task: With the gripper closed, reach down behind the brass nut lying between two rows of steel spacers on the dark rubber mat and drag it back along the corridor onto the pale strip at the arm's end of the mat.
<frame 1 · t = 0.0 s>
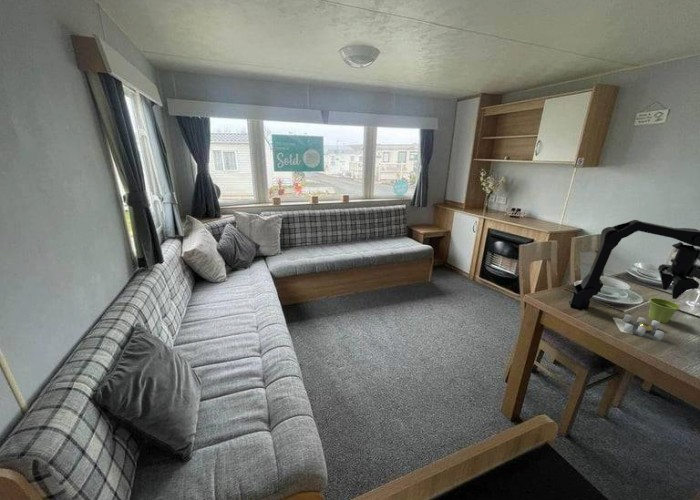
hand: (669, 294, 123), 15 cm above the table, fingers open, 9 cm apart
plant pot: (657, 320, 131), on the table
brass nut: (643, 330, 122), point 1 cm above the table, touching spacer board
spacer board: (636, 329, 123), on the table
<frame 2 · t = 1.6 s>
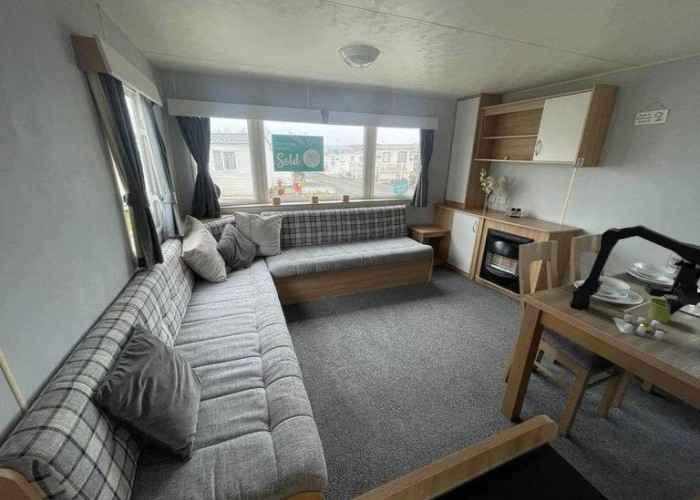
hand: (670, 313, 116), 10 cm above the table, fingers closed
nothing on the table moved.
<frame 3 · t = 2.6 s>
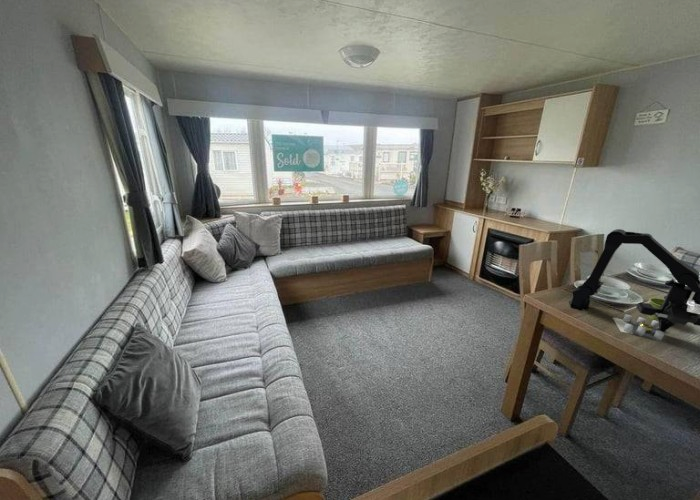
hand: (661, 331, 119), 2 cm above the table, fingers closed
nothing on the table moved.
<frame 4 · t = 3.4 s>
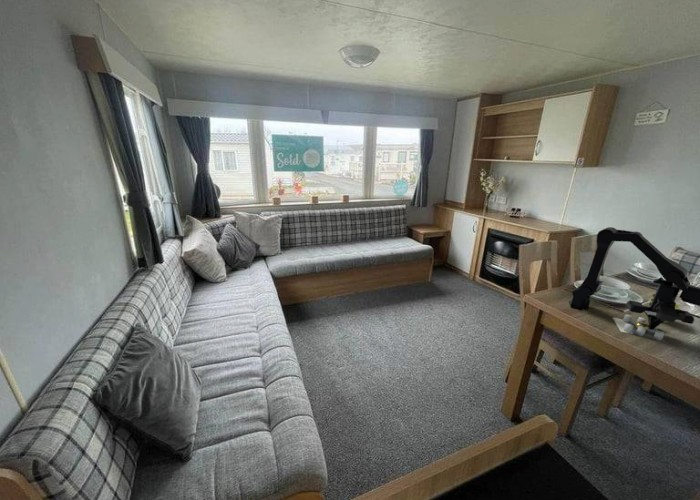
hand: (650, 329, 121), 2 cm above the table, fingers closed
brass nut: (640, 329, 122), point 1 cm above the table, touching gripper
everything else where it was.
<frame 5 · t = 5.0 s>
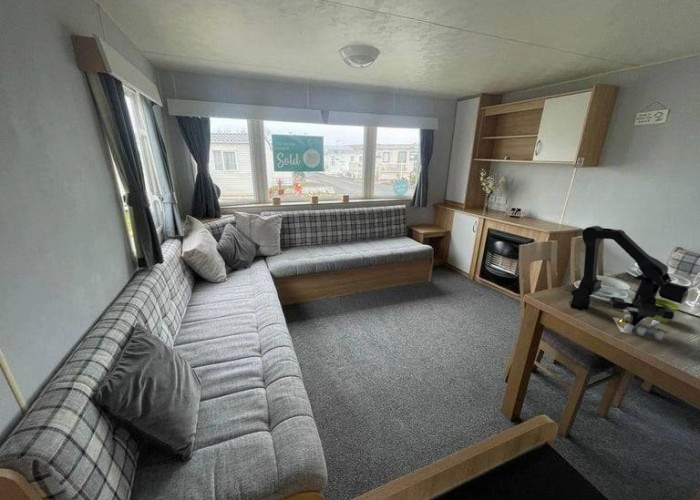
hand: (633, 325, 123), 2 cm above the table, fingers closed
brass nut: (623, 325, 125), point 1 cm above the table, touching gripper, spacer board
everything else where it was.
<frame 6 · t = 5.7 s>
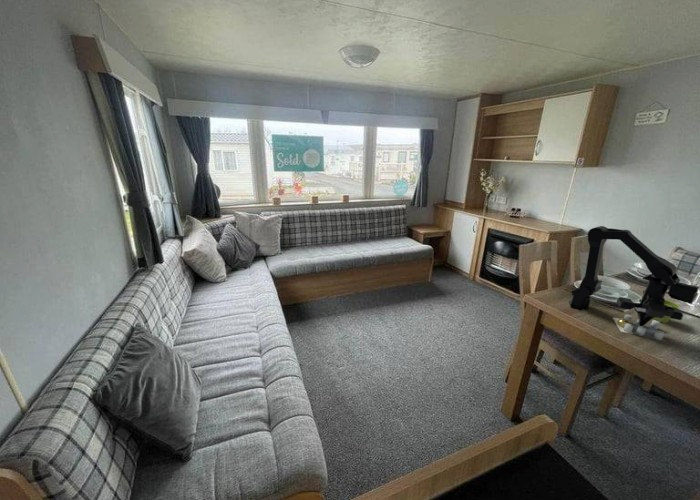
hand: (640, 325, 122), 2 cm above the table, fingers closed
brass nut: (623, 325, 125), point 1 cm above the table, touching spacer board
everything else where it was.
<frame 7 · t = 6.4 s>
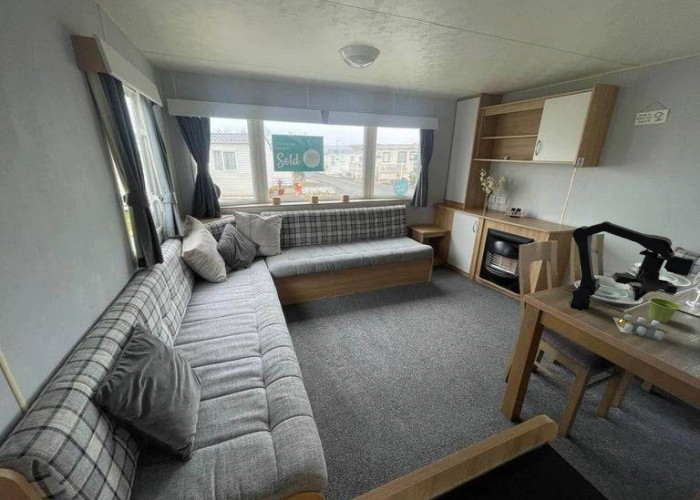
hand: (635, 300, 123), 12 cm above the table, fingers closed
nothing on the table moved.
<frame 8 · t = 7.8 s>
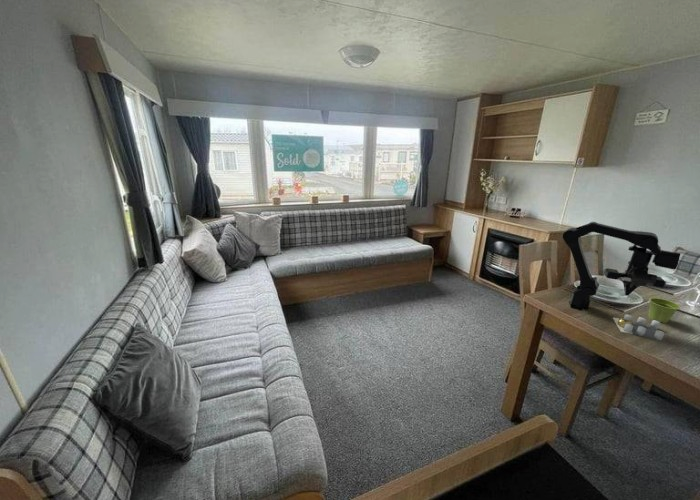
hand: (626, 295, 127), 12 cm above the table, fingers closed
nothing on the table moved.
at the end: brass nut 0.2 cm from the target spot, point 0.7 cm above the table; brass nut moved 6.7 cm from its start; the gripper is holding nothing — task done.
